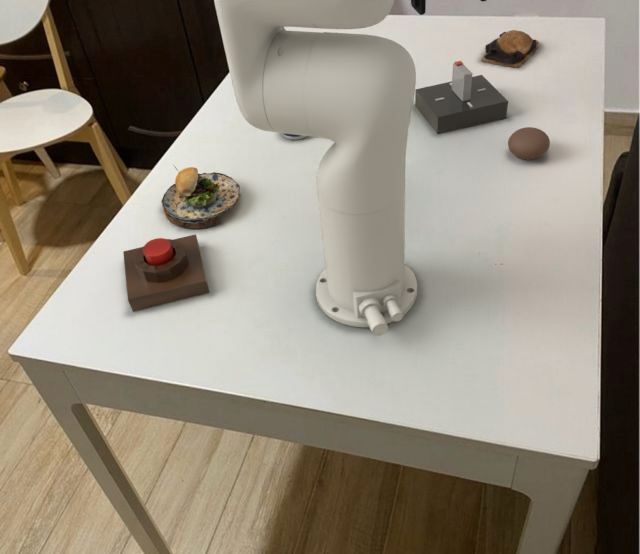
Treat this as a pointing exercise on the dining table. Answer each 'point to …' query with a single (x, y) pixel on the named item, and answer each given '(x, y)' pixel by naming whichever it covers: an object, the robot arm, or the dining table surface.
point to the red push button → (158, 251)
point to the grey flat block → (461, 81)
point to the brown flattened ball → (528, 143)
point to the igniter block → (165, 275)
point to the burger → (199, 198)
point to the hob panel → (460, 105)
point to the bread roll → (510, 49)
